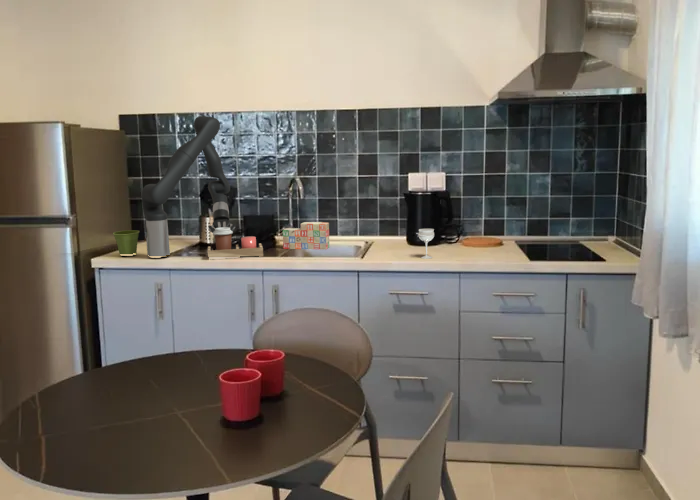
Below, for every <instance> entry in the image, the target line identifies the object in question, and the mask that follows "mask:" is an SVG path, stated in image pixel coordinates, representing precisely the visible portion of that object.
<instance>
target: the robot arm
mask: <svg viewBox="0 0 700 500" xmlns="http://www.w3.org/2000/svg"><path fill="white" fill-rule="evenodd" d="M220 128H221V125H220V120H219V119H218V118H216V117H213V116H208V115H199V116H197V117H196V118H195V119H194V121H193V129H194V133H195V136H194V137H193V138H192V139H190V140H188V141H187V142H185V143H184V144H182V145H180V146H179V147H178V148H177V149H176V150H175V152H174V153H173V154H172V155H171V157H170V158H169V161H168V164H167V168H166V172H165V173H164V175H163V176H162V177H161V179H160V180H159V181H158V182H157V183H149V184H146V185H144V186H143V188H142V191H141V203H142V211H143V215H144V217H145V223H146V224H145V226H146V234H147V235H146V237H145V240H146V251H147V256H148V255H149V256H166V255H170V256H171V253H170V251H171V250H170V237H169V227H168V214H167V212H165V211H164V209H163V206H162V205H164V204H165V203H166V202H168V199H170V196H171V195H172V193H173V192H174V190H175V187H176V186H177V185H178V183H179V182H180V181H181V179H182V178H183V177H184V176H185V174H186V173H187V172H188V170H189V169H190V168H191V167H192V166H193V164H194V162H195V161H196V159H197V158H198V157H199V156H200V154H201V153H203V155H204V159H205V162H206V167H207V168H206V169H207V172H208V174H209V175H208V176H209V177H210V178H213V179H214V178H215V179H217V180H213V181H210V182H209V183H208V187H207V188H208V192H209V194H210V196H211V198H212V216H213V217H212V218H213V220H212V221H213V222H212V224H211V225H208V231H210V233H212V234H213V232H214V231H215V228H220V227H229V228H230V230H231V231H233V232H234V231H235V229H236V224H235V223H233V224H232V222H231V221H230V211H229V204H228V203H229V202H228V197H227V195H225V194H229V192H230V191H231V185H230V182H229V180H228V179H227V177H226V174H225V172H224V169H223V164H222V160H221V158H220V155H219V154H218V152H217V150H216V148H215V147H214V145H213V143H212V140H213V139H214V138H215V137H216V136H217V135H218V133H219V132H220Z"/></svg>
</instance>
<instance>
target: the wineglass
mask: <svg viewBox="0 0 700 500" xmlns="http://www.w3.org/2000/svg"><path fill="white" fill-rule="evenodd" d="M434 230H435V229H434V228H428V227H427V228H425V227H424V228H419V229H418V234H417V235H418V238H419V240H421V241H422V242H423V243H425V255H424V256H421V257H420V259H432V258H433V257H432V256H429V255H428V243H429V242H430V241H432V240H433V239H434V237H435V232H434Z"/></svg>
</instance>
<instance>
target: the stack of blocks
mask: <svg viewBox="0 0 700 500" xmlns="http://www.w3.org/2000/svg"><path fill="white" fill-rule="evenodd" d="M282 242H283V243H282V247H283V249H284V250H322V251H323V250H325V251H326V250H327V249H329V248H330V222H323V221H316V222H315V221H311V222H310V221H309V222H308V221H304V222H302V223H300V228H299V227H298V228H297V227H296V228H295V227H291V228H290V227H286V228H284V229H282Z"/></svg>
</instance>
